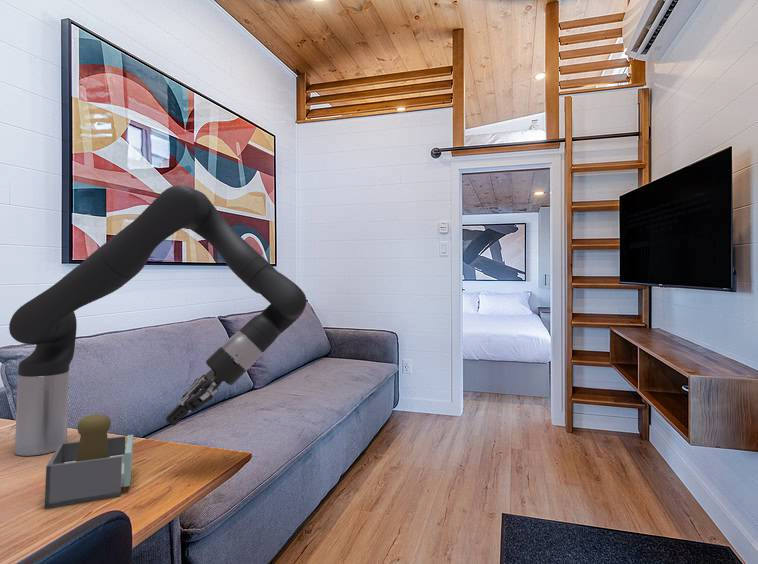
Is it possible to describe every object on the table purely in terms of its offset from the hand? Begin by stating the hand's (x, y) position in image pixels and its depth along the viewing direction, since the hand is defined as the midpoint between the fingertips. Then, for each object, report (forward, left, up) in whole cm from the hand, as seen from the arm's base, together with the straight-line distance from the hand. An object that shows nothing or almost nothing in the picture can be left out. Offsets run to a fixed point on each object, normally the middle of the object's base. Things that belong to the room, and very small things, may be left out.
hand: (169, 422), depth 86 cm
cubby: (+4, -12, -11) cm, 16 cm away
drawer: (+4, -11, -9) cm, 15 cm away
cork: (+4, -12, -9) cm, 15 cm away
